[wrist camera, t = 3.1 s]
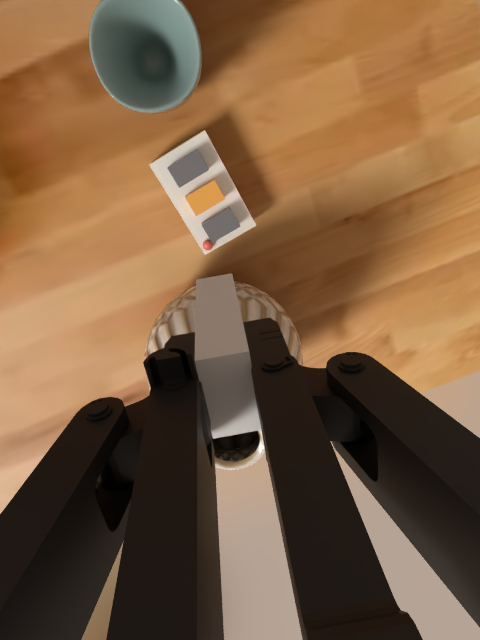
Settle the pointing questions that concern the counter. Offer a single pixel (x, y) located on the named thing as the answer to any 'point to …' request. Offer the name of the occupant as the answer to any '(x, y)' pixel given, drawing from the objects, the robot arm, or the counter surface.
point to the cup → (146, 53)
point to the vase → (252, 307)
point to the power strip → (203, 192)
